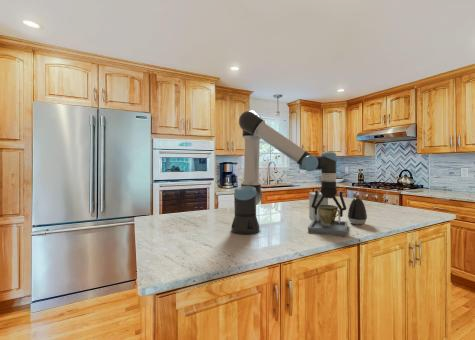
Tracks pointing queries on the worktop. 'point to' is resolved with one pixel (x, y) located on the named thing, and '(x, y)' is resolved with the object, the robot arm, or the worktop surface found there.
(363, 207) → the dark grey egg shape
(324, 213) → the ceramic cup
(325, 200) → the supplement box
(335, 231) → the tray
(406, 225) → the worktop surface
